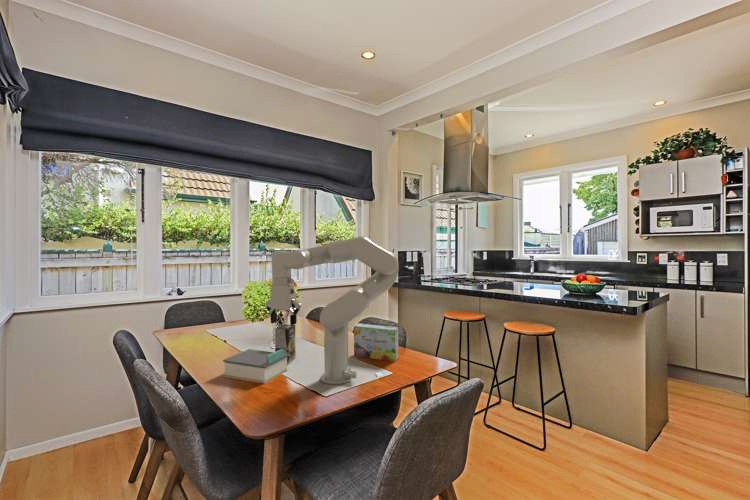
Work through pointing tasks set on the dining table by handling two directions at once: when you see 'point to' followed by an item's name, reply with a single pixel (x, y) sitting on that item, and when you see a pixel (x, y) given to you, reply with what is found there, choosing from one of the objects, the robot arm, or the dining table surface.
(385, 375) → the dining table surface
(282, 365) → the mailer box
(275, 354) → the lid
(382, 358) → the snack box
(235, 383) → the dining table surface
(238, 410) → the dining table surface
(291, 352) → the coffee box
